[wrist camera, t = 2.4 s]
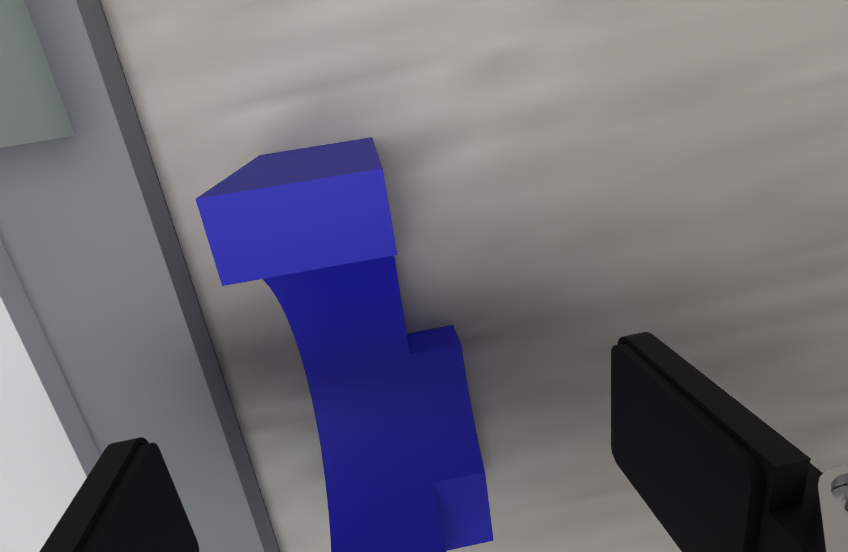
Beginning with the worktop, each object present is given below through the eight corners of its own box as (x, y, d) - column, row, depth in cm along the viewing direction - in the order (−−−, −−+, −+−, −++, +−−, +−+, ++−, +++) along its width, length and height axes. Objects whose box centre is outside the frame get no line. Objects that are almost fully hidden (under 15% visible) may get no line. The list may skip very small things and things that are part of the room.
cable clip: (472, 471, 18) (523, 640, 13) (347, 497, 18) (344, 681, 12) (425, 128, 14) (472, 153, 8) (260, 154, 14) (195, 199, 8)
